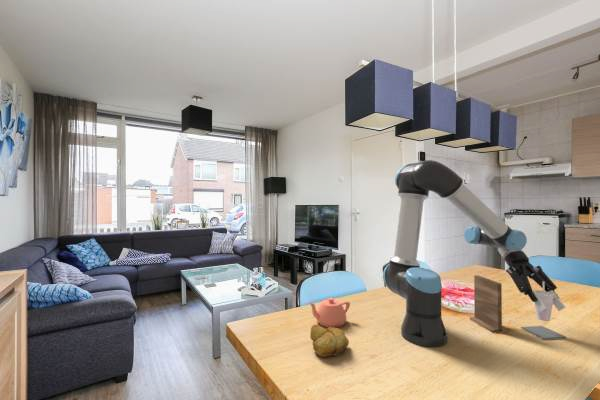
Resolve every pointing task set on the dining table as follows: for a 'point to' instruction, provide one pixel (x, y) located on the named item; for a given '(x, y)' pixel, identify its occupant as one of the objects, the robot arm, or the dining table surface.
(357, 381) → the dining table surface
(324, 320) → the teapot
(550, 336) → the coaster
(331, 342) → the bread roll
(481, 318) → the screen
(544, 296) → the smoothie
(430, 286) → the robot arm
